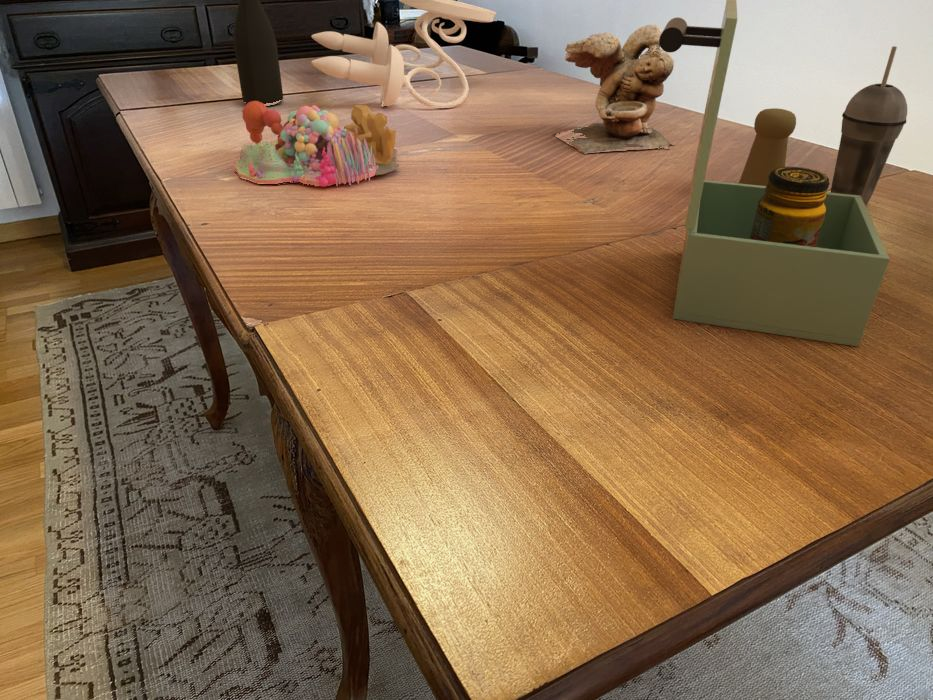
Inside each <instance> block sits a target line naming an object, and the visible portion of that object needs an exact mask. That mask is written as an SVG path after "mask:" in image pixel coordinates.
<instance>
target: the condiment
mask: <svg viewBox="0 0 933 700" xmlns="http://www.w3.org/2000/svg"><path fill="white" fill-rule="evenodd" d="M768 178H769V180H768V184H767V186H766V188H765V192H766V193H765V194H764V196H762V197H761V198H760V200H759V201H758V206H757V210H756V214H755V219H754V223H753V228H752V232H751V236H750V239H751V240H759V241H768V242H776V243H785V244H793V245H801V246H810V247H816V243H817V240H818V237H819V233H820V230H821V226H822V223H823V221H824V218H825V213H826V207H825V205H824V203H823V201H825V199H826V192H828V189H829V186H830V184H831V183H830V178H829V177H828V175H827V174H825V173H823V172H821V171H820V170H819V171H818V170H816V169H811V168H806V167H801V166H800V167H799V166H785V167H781V168H777V169H775V170H773V171H772V172H771V173H770V175H769V177H768Z"/></svg>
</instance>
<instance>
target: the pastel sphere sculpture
mask: <svg viewBox="0 0 933 700" xmlns="http://www.w3.org/2000/svg"><path fill="white" fill-rule="evenodd" d="M350 113H351V115H350V119H351V121H352V122H350V123H349V124H346V125H344V127H343V126H342V125H341V124H340V123H341V122H340V120H339V118H338V116H337V114H335V113H334V112H329V111H328V110H325V109H320V108H319V107H318V106H317V105H316V104H311V106H308V105H302V106H300V107H298V109H296V110H292V111H291V112H290V113H289V114H288V116H287V121H286V122H284V124H281V123H282V116H281V114H280V113H279V112H278V110H275V109H269V108H268V107H266V106H265V105H264V104H263V103H261V102H259V101H251V102H248V103H247V104H245V105H244V106H243V108H242V119H243V122H244V124H245V129H246V131H247V133H249V139H250V141H252V143H250V144H245V145H243V146H242V147H240V148H241V150H240V152H239V155H238V157H237V159H236V160H235V162H234V167H233V170H234V171H235V170H236V171H237V173H238V174H237V173H236V174H237V176H238V175H239V176H240V177H243V178H246V179H249V180H251V181H254V182H256V183H265V184H278V183H283V182H290V181H291V182H290V183H298V182H301V183H303V184H302V185H304V184H307V185H306V186H313V185H314V186H313V187H322V188H324V187H328V186H329V187H330V186H332V185H333V186H334V185H335V186H336V187H338V185H341V184H343V185H346V184H347V183H348V186H349V185H351V186H352V184H354V183H357V185H359V184H360V181H363V180H364V181H367V179H368V182H369V181H370V182H371V178H373V177H374V176H380V175H385V174H388V173H391V172H393V171H396V169H397V168H399V167H400V164H399V163H397V162H395V161H394V160H393V158H394V157H395V156H396V155H397V154H398V149H396V148H395V146H396V138H397V130H395V129H390V128H389V126H388V125H387V124H388V116H387V115H385V114H384V113H383V112H382V113H381V112H378V113H376V114H374V112H373V111H372V109H371V108H370V107H369V106H367V105H366V104H353V106H352V110H351V112H350ZM265 127H268V128H269V129H270V131H271V132H272V133H273V134H274V135H275V136H276V135H277V140H276V141H273V142H268V141H262V140H263V134H262V133H263V132H264V130H265ZM253 143H254V144H253ZM235 164H236V165H235ZM239 176H238V177H239ZM293 181H294V182H293ZM357 181H358V182H357ZM301 183H300V184H301ZM283 184H284V183H283ZM309 184H310V185H309ZM278 185H279V184H278Z"/></svg>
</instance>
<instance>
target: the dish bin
mask: <svg viewBox="0 0 933 700" xmlns="http://www.w3.org/2000/svg"><path fill="white" fill-rule="evenodd" d="M765 188H766V186H759V185H749V184H739V182H738V183H737V182H729V181H719V180H710V179H709V180H708V179H705V180H704V185H703V190H702V194H701V199H700V204H699V209H698V214H697V219H696V224H695V229H694V230H691V229H685V230H686V231H685V235H684V240H683V241H684V242H683V245H682V246H683V247H682V253H681V259H680V265H679V266H680V267H679V273H678V279H677V286H676V287H677V288H676V293H675V300H674V307H673V315H672V319H673V320H679V321H685V322H692V323H699V324H705V325H711V326H719V327H725V328H732V329H738V330H745V331H751V332H758V333H765V334H771V335H779V336H785V337H792V338H798V339H806V340H809V341H810V340H811V341H818V342H825V343H831V344H836V345H837V344H838V345H844V346H850V347H851V346H852V347H856V348H857V347H860V344H861V342H862V339H863V336H864V333H865V331H866V327H867V324H868V322H869V319H870V316H871V313H872V311H873V307H874V305H875V302H876V299H877V297H878V294H879V290H880V288H881V286H882V282H883V279H884V277H885V274H886V271H887V268H888V265H889V263H890V257H889V255H888V252H887V250H886V248H885V246H884V243H883V242H882V239H881V237H880V235H879V232H878V231H877V229H876V226H875V224H874V222H873V219H872V217H871V215H870V213H869V211H868V209H867V206H865V204H864V202H863V200H862V198H861V196H859V195H849V194H839V193H830V192H828V191H827V192H826V199H825V201H823V203H824V205H825V207H826V213H825V218H824V221H823V223H822V226H821V230H820V233H819V237H818V240H817V243H816V247H810V246H801V245H793V244H785V243H776V242H768V241H759V240H751V239H750V236H751V232H752V228H753V223H754V219H755V214H756V210H757V206H758V201H759V200H760V198H761V197H762V196H764V194H765V193H766V192H765Z"/></svg>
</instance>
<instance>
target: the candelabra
mask: <svg viewBox="0 0 933 700" xmlns="http://www.w3.org/2000/svg"><path fill="white" fill-rule="evenodd" d="M398 1H399V2H400V3H401V4H404V5H405V6H408V7H412V8H414V9H418V10H421V11H425V12H424V13H422V14H421V15H420V16H418V17H417V19H416V20H415V22H414V30H415V32H416V33H417V35H418V36H419V37H421V39H423V40H424V41H425V43H426V44H427V46H428V47H429V48H430V49H431V50H432V51H433V52H434V53H435V54H436V55H437V56H438V57H439V59H438V60H437V61H435V62H433V63H426V64H425V63H424V64H419V63H418V64H417V63H411V62H416V61H418V60H420V58H421V55H422V53H421V51H420V49H419V48H417V47H416V46H414V45H410V44H404V43H403V44H397V45H393V44H389V34H388V31H387V29H386V27H385V26H384V25H383V24H382V23H381V22H379V21H376V22H375V25H374V29H373V34H372V39H371V38H365V37H361V36H356V35H351V34H347V33H344V34H343V33H340V32H337V31H331V30H329V31H321V32H317V33H314V34H312V35H311V39H313V40H314V41H315V42H317V43H318V44H319V45H321V46H323V47H324V48H327V49H330V50H333V51H342V52H343V53H350V54H354V55H359V56H365V57H369V59H370V60H369V62H366V61H363V60H358V59H357V60H356V59H351V58H350V59H347V58H345V57H343V56H336V55H329V56H324V57H319V58H316V59H312V60H311V61H310V62H311V65H312V66H313V67H314V68H316V69H318V70H319V71H320V72H322V73H324V74H326V75H328V76H330V77H333V78H336V79H347V80H348V81H353V82H358V83H364V84H368V85H369V84H370V85H374V86H381V89H380V102H381V101H383V102H384V104H383V106H388V105H391V106H392V105H394V104H395V103H396V102H397V101H398V99H399V97H400V94H401V93H402V88H403V87H405V88H406V90H407V92H408V93H409V94H410V95H411V96H412V98H414V99H415V100H416V102H419V103H420V104H422V105H424V106H426V107H428V106H449V105H457V104H460V105H461V104H463V103H464V102H465V100H466V99H467V97H468V95H469V91H470V89H469V81H468V78H467V77H466V75H465V73H464V71H463V69H462V68H461V67H460V66H459V64H457V63H456V61H455V60H454V59H452V58H451V56H449V54H447V53H446V52H445V51H444V49H443V48H442V47H441V45H439V44H438V43H437V42H436V41H435V40H434V39H433V38H432V37H430V35H429V33H428V26H429V24H430V23H431V30H432V31H433V32H434V33H436V34H437V35H439V37H440V39H442V40H443V41H444V42H447V43H451V44H457V43H461V42H462V41H464V39H465V37H466V35H467V26H466V24H465V21H468V22H469V21H471V22H478V23H492V22H494V18H495V16H497V12H496V11H494V10H491V9H488V8H485V7H481V6H478V5H474V4H470V3H466V2H462V1H459V0H398ZM439 18H442V19H443V20H450V21H451V22H453V23H454V24H455V25H454V26H453V27H451V28H442V27H443V26H444V25H445V22H441V23H440V19H439ZM463 20H465V21H463ZM431 21H432V22H431ZM421 23H422V24H421ZM438 23H440V24H439V26H438V27H437V26H435V25H436V24H438ZM420 25H421V26H420ZM459 29H460V33H459V35H457V36H450V35H453V34H455V33H457V32H458V31H459ZM401 50H404V51H411V52H414V53H415V54H417V56H415V57H409V61H410V62H407V61H404V58H403V54H402V53H401ZM444 62H445V63H446V64H447V65H449V66H450V67H451V68H452V70H454V72H455V73H456V75H457V76H458V77H459V80H460V82H461V85H462V92H461V94H460V96H459V97H458V98H456V99H454V100H452V101H449V102H448V101H447V102H437V101H433V100H430V99H428V98H426V97H424V96H422V95H421V94H419V93H418V92H417V91H416V90H415V89H414V87H413V86H412V83H411V79H412V78H413V76H414V75H416V74H419V73H423V74H428V75H430V76H431V77H433V78H434V79H435V80H436V82H437V83H438V86H437V88H436V89H430V92H429V93H430V94H435V93H438V91H439V90H440V89H441V86H442V79H441V77H440V76H439V74H438V73H437V72H436V71H434V70H433V69H436V68H438V67H440V66H442V65H443V63H444ZM406 67H417V68H414V69H410V70H409V71H408V72H407V73H406V74H405V68H406ZM428 68H433V69H428ZM388 107H389V106H388Z"/></svg>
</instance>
